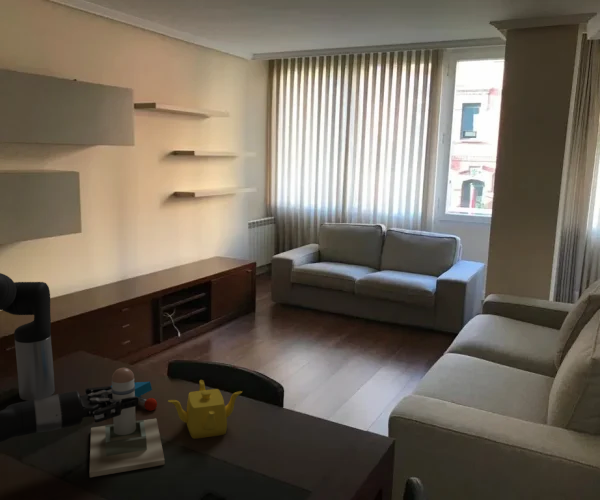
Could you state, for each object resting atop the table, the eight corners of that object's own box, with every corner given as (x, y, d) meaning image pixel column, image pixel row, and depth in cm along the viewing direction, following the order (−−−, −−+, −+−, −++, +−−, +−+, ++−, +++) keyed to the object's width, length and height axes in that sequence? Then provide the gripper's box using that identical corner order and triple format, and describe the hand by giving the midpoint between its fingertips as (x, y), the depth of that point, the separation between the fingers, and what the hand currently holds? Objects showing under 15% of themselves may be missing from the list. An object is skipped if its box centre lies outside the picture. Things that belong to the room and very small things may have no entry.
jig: (91, 432, 138) (90, 416, 137) (156, 422, 143) (156, 407, 142) (89, 477, 119) (88, 460, 119) (164, 464, 125) (164, 447, 124)
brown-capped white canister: (113, 426, 132) (110, 365, 129) (135, 422, 133) (133, 363, 131) (113, 436, 127) (110, 374, 124) (136, 433, 129) (134, 371, 126)
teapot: (212, 447, 132) (212, 410, 130) (166, 433, 138) (165, 397, 136) (244, 421, 145) (244, 387, 143) (201, 409, 151) (200, 376, 149)
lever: (103, 415, 156) (147, 415, 146) (97, 392, 155) (141, 390, 146) (121, 406, 162) (165, 405, 152) (116, 383, 161) (159, 381, 152)
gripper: (60, 409, 115) (142, 393, 123) (53, 383, 127) (128, 370, 135) (62, 442, 116) (143, 423, 125) (55, 413, 128) (129, 398, 137)
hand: (134, 396), depth 130 cm, fingers closed on brown-capped white canister, 5 cm apart
